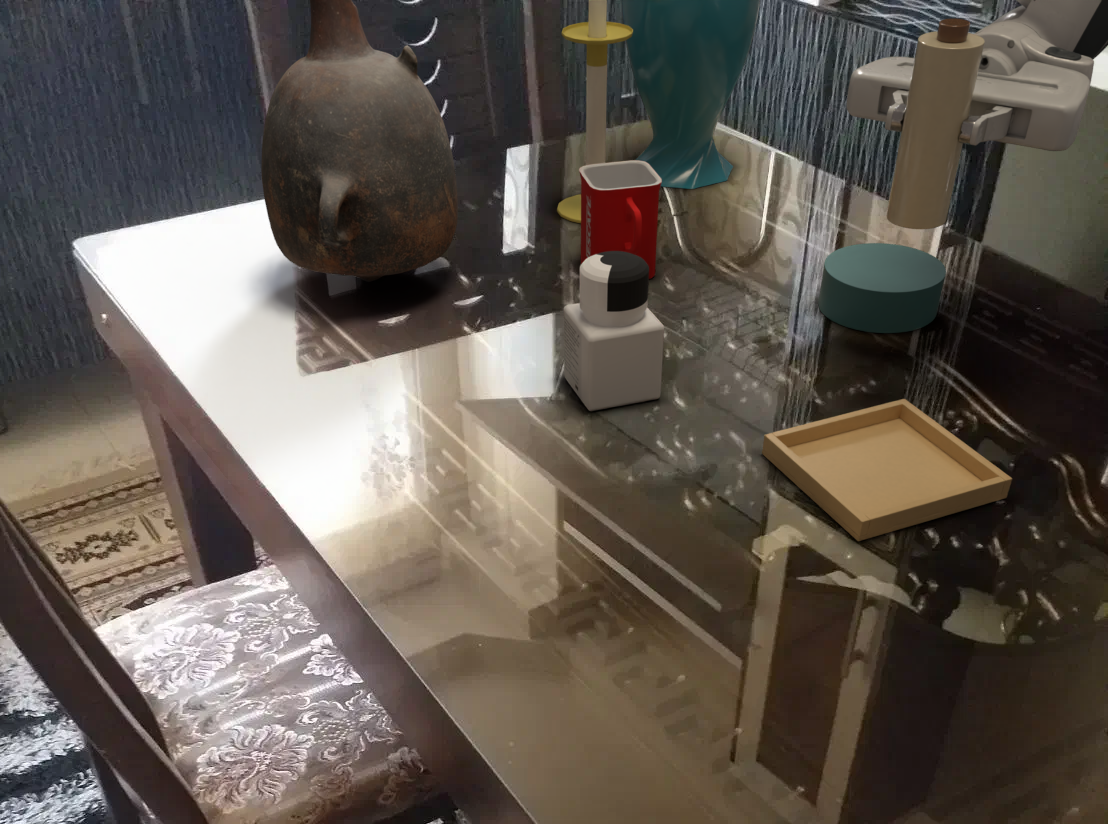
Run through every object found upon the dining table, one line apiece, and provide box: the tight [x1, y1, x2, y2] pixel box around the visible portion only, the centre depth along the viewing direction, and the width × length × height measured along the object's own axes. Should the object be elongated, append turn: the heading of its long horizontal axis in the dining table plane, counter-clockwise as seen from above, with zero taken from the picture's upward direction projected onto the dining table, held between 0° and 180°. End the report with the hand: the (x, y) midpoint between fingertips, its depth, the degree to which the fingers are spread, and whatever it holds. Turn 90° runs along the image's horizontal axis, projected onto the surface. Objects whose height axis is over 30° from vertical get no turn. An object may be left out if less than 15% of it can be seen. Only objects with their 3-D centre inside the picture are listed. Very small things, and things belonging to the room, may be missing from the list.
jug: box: [260, 0, 459, 283], centre depth 125 cm, size 24×21×30 cm
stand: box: [817, 242, 947, 334], centre depth 127 cm, size 13×13×4 cm
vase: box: [621, 0, 761, 190], centre depth 149 cm, size 17×17×30 cm
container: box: [563, 251, 665, 412], centre depth 112 cm, size 8×8×13 cm
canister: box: [886, 18, 985, 230], centre depth 97 cm, size 5×5×15 cm
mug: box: [578, 159, 662, 280], centre depth 132 cm, size 12×8×11 cm
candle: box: [556, 0, 633, 224], centre depth 137 cm, size 10×10×38 cm
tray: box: [761, 398, 1013, 542], centre depth 103 cm, size 16×16×2 cm
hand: (931, 127), depth 96 cm, fingers closed on canister, 5 cm apart
